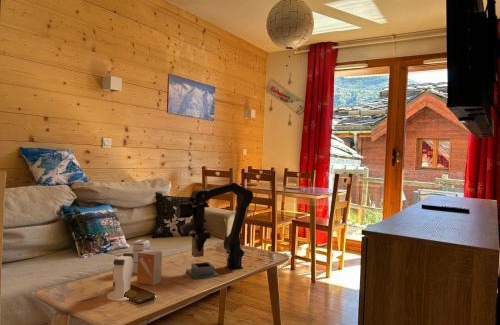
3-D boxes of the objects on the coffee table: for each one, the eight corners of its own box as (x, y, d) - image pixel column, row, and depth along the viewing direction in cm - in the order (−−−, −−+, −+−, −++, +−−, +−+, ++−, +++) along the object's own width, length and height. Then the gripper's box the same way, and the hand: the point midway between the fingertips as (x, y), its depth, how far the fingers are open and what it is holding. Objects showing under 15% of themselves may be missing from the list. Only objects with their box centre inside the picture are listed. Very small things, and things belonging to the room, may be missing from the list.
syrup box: (143, 274, 166) (144, 242, 166) (131, 273, 167) (132, 241, 167) (149, 270, 171) (150, 240, 171) (138, 269, 172) (139, 238, 172)
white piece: (114, 288, 147) (115, 251, 147) (142, 290, 147) (143, 252, 147) (101, 300, 135) (102, 259, 135) (131, 301, 135) (133, 261, 135)
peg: (200, 253, 173) (201, 237, 173) (203, 256, 169) (203, 239, 169) (191, 254, 172) (192, 237, 171) (194, 257, 168) (194, 239, 167)
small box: (136, 283, 154) (137, 252, 154) (145, 278, 160) (146, 249, 160) (153, 285, 152) (154, 254, 152) (161, 281, 158) (162, 251, 158)
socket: (210, 268, 178) (210, 260, 178) (219, 276, 167) (219, 267, 167) (186, 271, 173) (186, 262, 172) (193, 279, 162) (194, 270, 162)
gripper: (176, 214, 175) (176, 246, 176) (187, 221, 158) (186, 257, 159) (199, 213, 180) (198, 245, 180) (211, 220, 163) (210, 254, 163)
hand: (197, 250), depth 170 cm, fingers closed on peg, 4 cm apart
